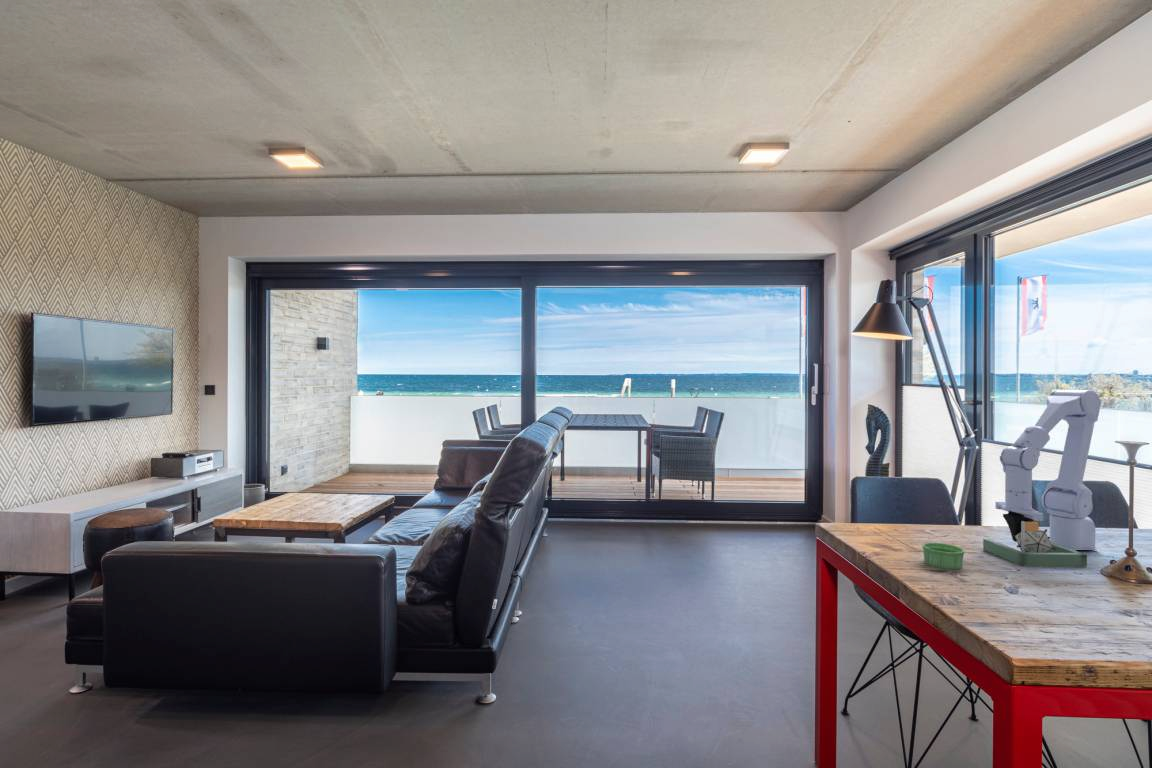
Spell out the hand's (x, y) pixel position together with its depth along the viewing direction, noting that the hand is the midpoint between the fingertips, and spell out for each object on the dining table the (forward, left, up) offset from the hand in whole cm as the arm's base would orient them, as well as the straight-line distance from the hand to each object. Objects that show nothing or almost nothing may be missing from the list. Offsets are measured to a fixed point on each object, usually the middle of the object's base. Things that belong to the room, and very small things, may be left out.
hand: (1017, 541), depth 155 cm
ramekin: (+27, +11, -3) cm, 29 cm away
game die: (-1, +5, -3) cm, 6 cm away
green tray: (0, +5, -3) cm, 6 cm away
